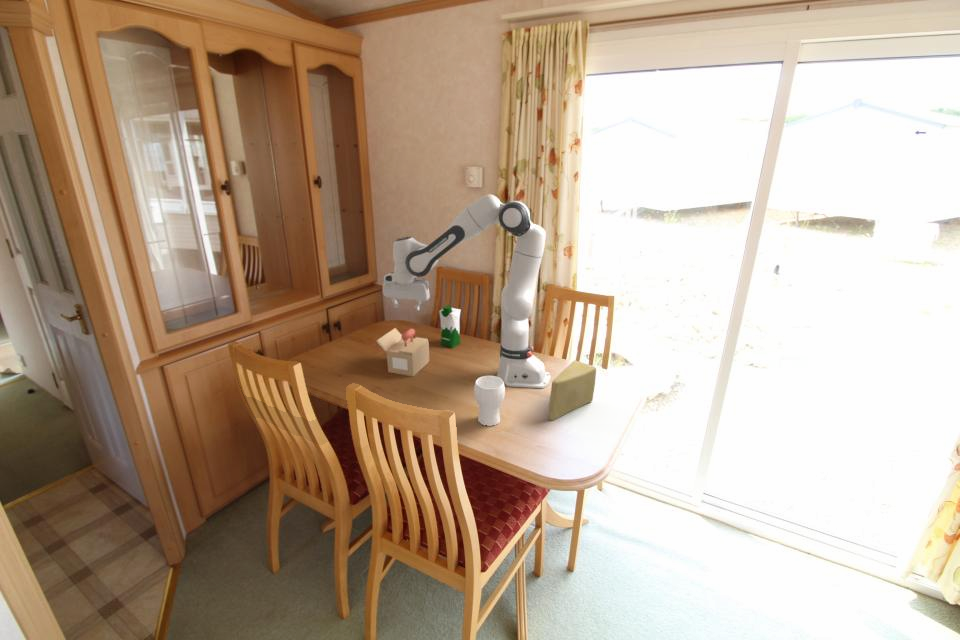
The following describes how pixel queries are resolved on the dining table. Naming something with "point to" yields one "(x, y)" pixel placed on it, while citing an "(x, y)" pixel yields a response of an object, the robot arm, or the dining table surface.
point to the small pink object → (414, 343)
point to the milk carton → (450, 326)
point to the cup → (489, 399)
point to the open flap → (389, 339)
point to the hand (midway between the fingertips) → (407, 308)
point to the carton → (407, 359)
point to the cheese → (572, 389)
